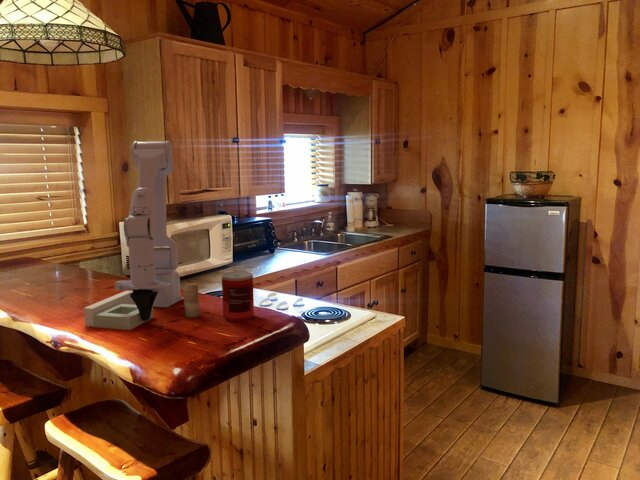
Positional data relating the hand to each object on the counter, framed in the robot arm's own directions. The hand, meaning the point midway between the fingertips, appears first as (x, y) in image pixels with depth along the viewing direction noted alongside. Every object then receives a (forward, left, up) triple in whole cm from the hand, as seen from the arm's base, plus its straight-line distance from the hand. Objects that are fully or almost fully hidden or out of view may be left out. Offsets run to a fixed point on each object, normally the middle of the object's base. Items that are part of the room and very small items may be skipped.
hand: (145, 319), depth 131 cm
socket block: (0, -6, -1) cm, 6 cm away
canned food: (-10, +20, -1) cm, 22 cm away
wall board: (-4, -12, -1) cm, 13 cm away
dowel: (-9, +8, -1) cm, 12 cm away
